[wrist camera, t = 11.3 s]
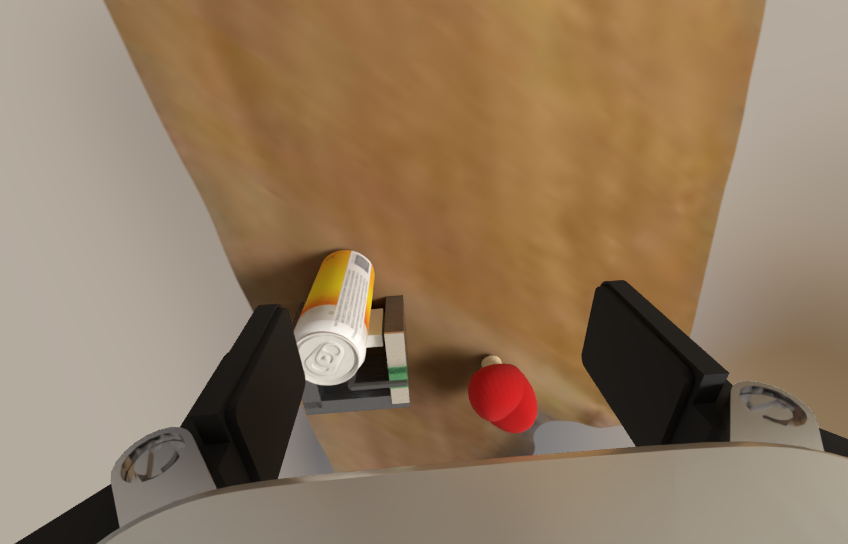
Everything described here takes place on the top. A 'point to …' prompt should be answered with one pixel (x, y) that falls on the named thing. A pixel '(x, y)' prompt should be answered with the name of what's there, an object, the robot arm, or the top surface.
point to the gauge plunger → (375, 340)
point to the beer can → (336, 319)
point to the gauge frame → (368, 373)
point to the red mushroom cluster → (503, 396)
